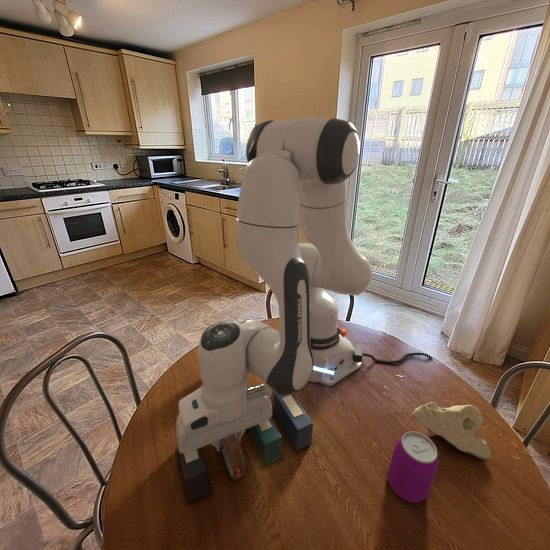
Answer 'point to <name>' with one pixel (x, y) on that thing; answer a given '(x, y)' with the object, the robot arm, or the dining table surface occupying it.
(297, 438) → the block
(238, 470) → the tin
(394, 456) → the beverage can
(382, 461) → the dining table surface
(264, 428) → the block
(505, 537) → the dining table surface
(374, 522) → the dining table surface
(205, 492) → the block
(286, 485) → the dining table surface
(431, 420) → the cheese
